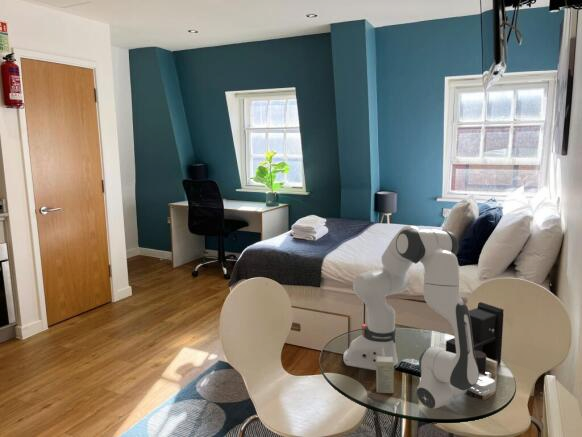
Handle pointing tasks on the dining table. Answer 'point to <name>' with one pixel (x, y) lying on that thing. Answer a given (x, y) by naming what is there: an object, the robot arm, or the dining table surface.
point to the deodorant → (481, 366)
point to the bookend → (485, 331)
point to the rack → (491, 368)
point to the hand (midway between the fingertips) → (476, 369)
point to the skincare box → (384, 374)
